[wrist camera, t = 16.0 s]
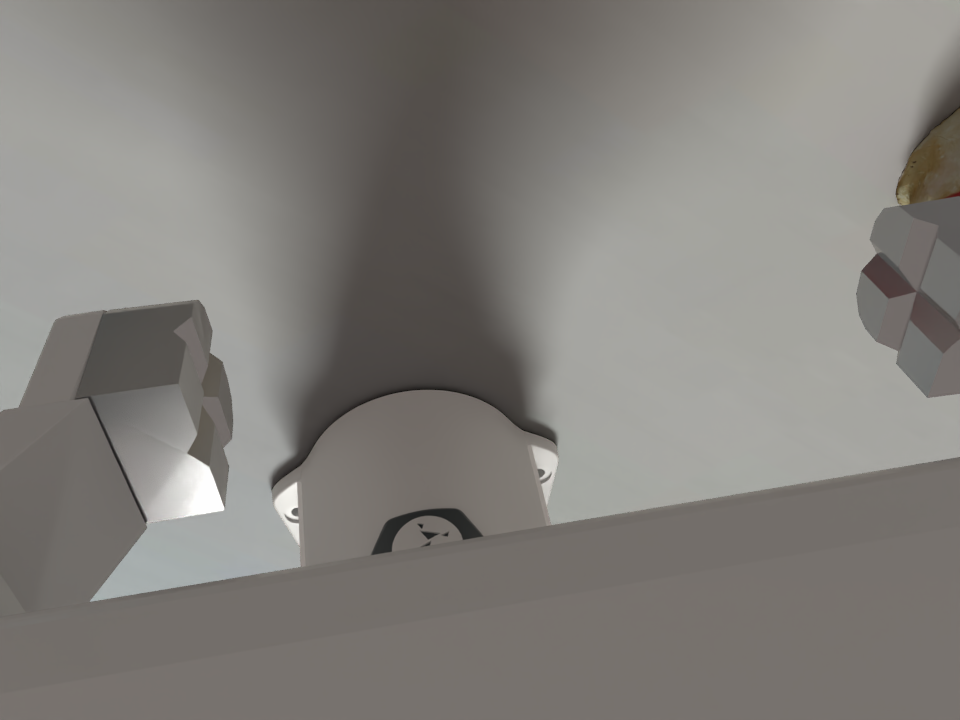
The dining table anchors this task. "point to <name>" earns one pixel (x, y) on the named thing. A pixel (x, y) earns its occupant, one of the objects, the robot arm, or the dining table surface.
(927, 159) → the chocolate bunny
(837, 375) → the dining table surface
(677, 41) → the dining table surface
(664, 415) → the dining table surface
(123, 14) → the dining table surface
